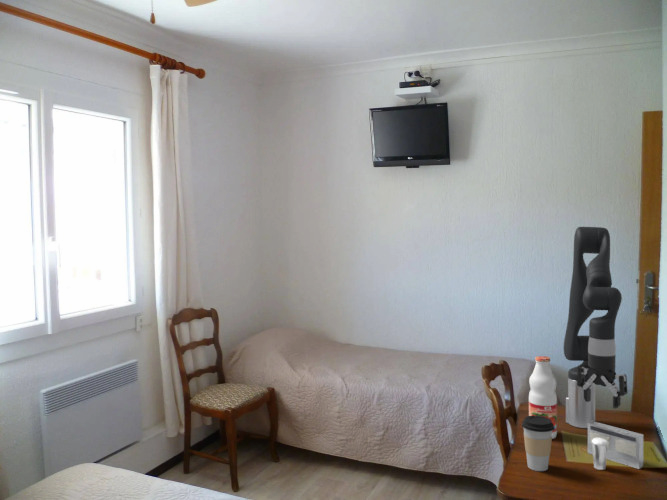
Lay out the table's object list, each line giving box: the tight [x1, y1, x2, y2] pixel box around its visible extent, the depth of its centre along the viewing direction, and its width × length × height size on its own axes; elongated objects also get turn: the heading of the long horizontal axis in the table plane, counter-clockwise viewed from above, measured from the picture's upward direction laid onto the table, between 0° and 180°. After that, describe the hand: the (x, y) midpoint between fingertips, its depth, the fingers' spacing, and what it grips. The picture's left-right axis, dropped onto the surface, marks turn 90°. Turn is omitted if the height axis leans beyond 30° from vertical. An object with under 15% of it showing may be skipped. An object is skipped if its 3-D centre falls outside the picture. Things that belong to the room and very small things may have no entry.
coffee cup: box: [521, 415, 554, 472], centre depth 174 cm, size 9×9×15 cm
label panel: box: [587, 421, 644, 470], centre depth 178 cm, size 16×3×10 cm, turn 39°
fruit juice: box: [528, 355, 558, 440], centre depth 199 cm, size 9×9×28 cm
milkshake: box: [592, 436, 611, 471], centre depth 173 cm, size 4×5×10 cm
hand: (601, 404), depth 172 cm, fingers open, 8 cm apart
